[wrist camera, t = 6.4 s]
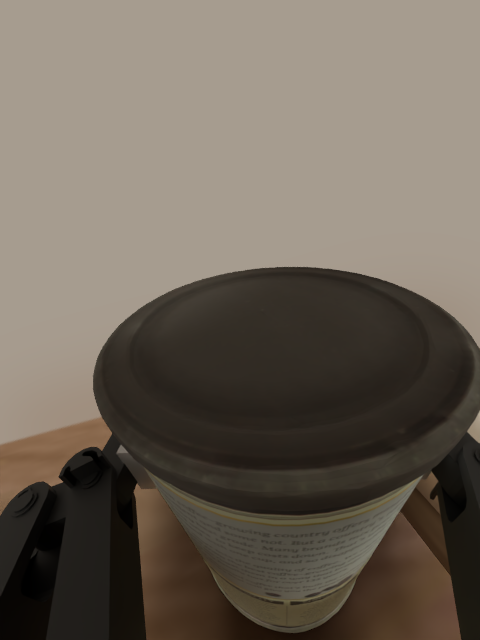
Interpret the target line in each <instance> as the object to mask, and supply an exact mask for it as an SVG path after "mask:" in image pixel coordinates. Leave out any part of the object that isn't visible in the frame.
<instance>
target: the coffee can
mask: <svg viewBox="0 0 480 640" xmlns="http://www.w3.org/2000/svg"><path fill="white" fill-rule="evenodd" d="M93 390H94V396H95V399H96V403H97V406H98V409H99V411H100V414H101V416H102V418H103V419H104V421H105V423H106V424H107V426H108V427H109V429H110V430H111V432H112V433H113V435H114V436H115V437H116V439H117V440H118V441H119V442H120V444H121V445H122V446H123V447H124V448H125V450H126V451H127V452H128V453H129V454H130V455H131V456H132V457H133V459H135V460H136V461H137V462H138V463H139V464H141V465H142V466H143V467H144V468H145V470H146V471H147V473H148V475H149V476H150V478H151V479H152V481H153V482H154V484H155V486H156V487H157V489H158V490H159V492H160V493H161V495H162V496H163V498H164V499H165V501H166V503H167V504H168V506H169V507H170V509H171V510H172V512H173V513H174V515H175V516H176V518H177V519H178V521H179V522H180V524H181V525H182V527H183V528H184V530H185V532H186V533H187V535H188V536H189V538H190V539H191V541H192V542H193V544H194V545H195V547H196V549H197V550H198V552H199V553H200V555H201V556H202V558H203V560H204V561H205V563H206V564H207V566H208V567H209V569H210V570H211V573H212V575H213V577H214V579H215V581H216V583H217V585H218V587H219V588H220V590H221V591H222V592H223V594H224V595H225V597H226V598H227V599H228V600H229V601H230V602H231V604H232V605H233V606H234V607H235V608H237V609H238V610H239V611H240V612H241V613H242V614H243V615H244V616H246V617H247V618H249V619H250V620H252V621H253V622H255V623H257V624H258V625H261V626H263V627H265V628H268V629H271V630H275V631H278V632H287V633H299V632H305V631H307V630H310V629H313V628H315V627H318V626H320V625H321V624H323V623H325V622H326V621H327V620H329V619H330V618H331V617H332V616H333V615H334V614H336V613H337V612H338V611H339V610H340V608H341V607H342V606H343V604H344V603H345V601H346V600H347V598H348V597H349V595H350V593H351V591H352V589H353V587H354V584H355V582H356V579H357V577H358V576H359V574H360V573H361V571H362V569H363V568H364V566H365V565H366V564H367V562H368V561H369V559H370V558H371V556H372V554H373V552H374V551H375V549H376V548H377V546H378V544H379V543H380V541H381V540H382V538H383V536H384V535H385V533H386V532H387V530H388V528H389V527H390V525H391V524H392V522H393V521H394V519H395V517H396V516H397V514H398V513H399V511H400V510H401V508H402V507H403V505H404V504H405V502H406V501H407V499H408V498H409V496H410V495H411V493H412V491H413V490H414V488H415V487H416V485H417V484H418V482H419V481H420V479H421V478H422V476H423V475H424V474H425V473H426V472H428V471H429V470H431V469H432V468H434V467H435V466H437V465H438V464H439V463H440V462H441V461H442V460H443V459H444V458H445V456H446V455H447V454H448V453H449V452H450V451H451V450H452V449H453V448H454V447H455V446H456V445H457V443H458V442H459V441H460V440H461V439H462V437H463V436H464V435H465V433H466V432H467V431H468V429H469V428H470V426H471V425H472V423H473V422H474V421H475V419H476V417H477V415H478V413H479V411H480V349H479V347H478V346H477V344H476V343H475V341H474V339H473V338H472V336H471V335H470V334H469V333H468V331H467V330H466V329H465V328H464V327H463V326H462V325H461V324H460V323H459V322H458V321H457V320H456V319H455V318H454V317H453V316H451V315H450V314H449V313H448V312H446V311H445V310H444V309H442V308H441V307H439V306H438V305H436V304H434V303H433V302H431V301H430V300H428V299H426V298H424V297H422V296H420V295H418V294H416V293H414V292H412V291H409V290H407V289H405V288H402V287H400V286H398V285H395V284H393V283H390V282H387V281H383V280H381V279H378V278H374V277H369V276H365V275H362V274H357V273H352V272H346V271H340V270H332V269H322V268H310V267H276V268H260V269H252V270H245V271H238V272H232V273H227V274H223V275H218V276H214V277H210V278H206V279H202V280H199V281H196V282H193V283H191V284H187V285H184V286H182V287H179V288H177V289H174V290H172V291H170V292H168V293H166V294H164V295H162V296H160V297H158V298H156V299H155V300H153V301H151V302H149V303H148V304H146V305H145V306H143V307H141V308H140V309H138V310H137V311H136V312H135V313H133V314H132V315H131V316H130V317H129V318H127V319H126V320H125V321H124V322H123V323H121V324H120V325H119V326H118V328H117V329H116V330H115V331H114V332H113V333H112V335H111V336H110V337H109V338H108V340H107V342H106V343H105V345H104V346H103V348H102V350H101V352H100V354H99V356H98V358H97V362H96V365H95V370H94V375H93Z"/></svg>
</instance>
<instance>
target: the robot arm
mask: <svg viewBox="0 0 480 640" xmlns="http://www.w3.org/2000/svg"><path fill="white" fill-rule="evenodd" d="M431 472H432V473H433V474H434V476H435V477H436V479H437V480H438V483H437V484H436V485H435V487H434V488H433V490H432V491H431V492H430V499H432V500H434V499H435V497H436V496H438V502H439V508H440V514H441V520H442V526H443V532H444V538H445V544H446V550H447V556H448V562H449V568H450V574H451V580H452V586H453V592H454V598H455V604H456V609H457V615H458V621H459V627H460V633H461V639H462V640H480V443H478V442H477V441H476V440H475V439H474V438H473V437H472V436H471V435H470V434H469V433H468V432H466V433H465V435H464V436H463V437H462V439H461V440H460V441H459V442H458V443H457V445H456V446H455V447H454V448H453V449H452V450H451V451H450V452H449V453H448V454H447V455H446V456H445V458H444V459H443V460H442V461H441V462H440V463H439V464H438V465H437V466H435V467H434V468H432V469H431V470H429V471H428V472H426V473H425V474H424V475H423V476H422V478H421V479H420V480H426V479H427V478H428V476H429V474H430V473H431ZM59 478H60V479H61V480H62V481H63V483H60V484H58V485H55V486H52V487H51V486H50V485H49V484H47V483H45V482H36V483H34V484H32V485H30V486H28V487H26V488H25V489H24V490H22V491H21V492H20V493H18V494H17V495H16V496H15V497H14V498H13V499H12V500H11V501H10V502H9V504H8V505H7V507H6V508H5V509H4V511H3V512H2V514H1V516H0V640H146V630H145V617H144V604H143V591H142V577H141V564H140V551H139V538H138V525H137V512H136V499H135V495H134V493H133V492H134V489H135V487H136V484H137V483H138V485H139V486H140V487H141V489H157V487H156V486H155V484H154V482H153V481H152V479H151V478H150V476H149V475H148V473H147V471H146V470H145V468H144V467H143V466H142V465H141V464H139V463H138V462H137V461H136V460H135V459H133V457H132V456H131V455H130V454H129V453H128V452H127V451H126V450H125V448H124V447H123V446H122V445H121V444H120V442H119V441H118V440H117V439H116V437H115V436H114V435H113V433H112V435H111V437H110V439H109V440H108V442H107V444H106V445H105V447H104V449H103V451H101V450H100V449H99V448H97V447H89V448H86V449H83V450H82V451H80V452H79V453H77V454H75V455H74V456H73V457H72V458H71V459H70V460H69V461H68V462H67V463H66V464H65V466H64V467H63V468H62V470H61V473H60V475H59Z"/></svg>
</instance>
